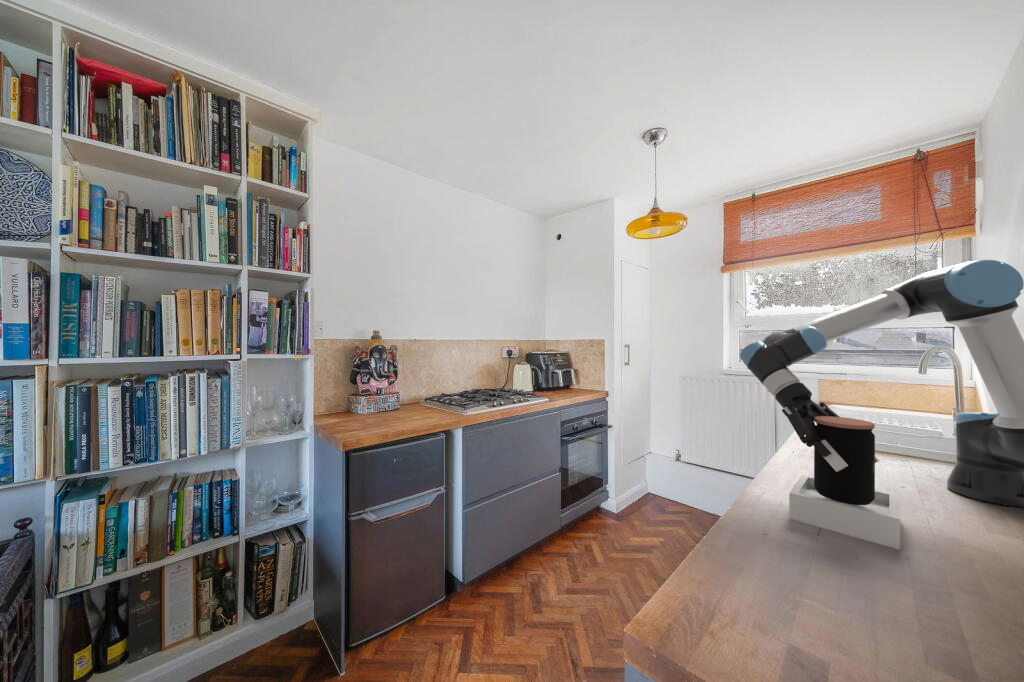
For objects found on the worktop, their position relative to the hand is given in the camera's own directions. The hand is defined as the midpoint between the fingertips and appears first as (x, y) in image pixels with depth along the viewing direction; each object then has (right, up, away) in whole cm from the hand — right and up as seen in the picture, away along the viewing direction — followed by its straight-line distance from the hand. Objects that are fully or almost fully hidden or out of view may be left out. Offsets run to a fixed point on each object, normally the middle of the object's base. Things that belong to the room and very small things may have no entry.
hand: (858, 466), depth 84 cm
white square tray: (-1, -14, +3) cm, 14 cm away
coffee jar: (-1, -8, +3) cm, 9 cm away
